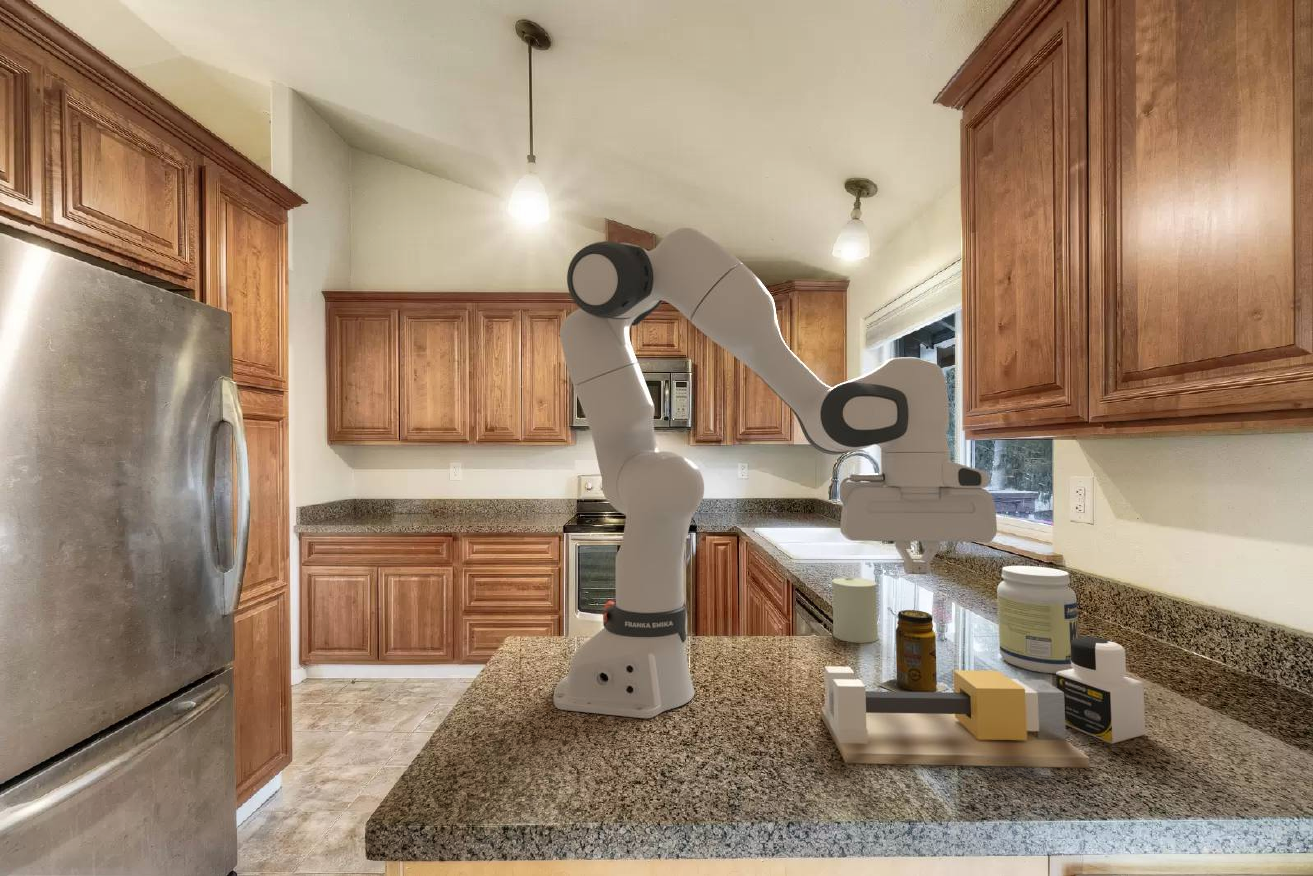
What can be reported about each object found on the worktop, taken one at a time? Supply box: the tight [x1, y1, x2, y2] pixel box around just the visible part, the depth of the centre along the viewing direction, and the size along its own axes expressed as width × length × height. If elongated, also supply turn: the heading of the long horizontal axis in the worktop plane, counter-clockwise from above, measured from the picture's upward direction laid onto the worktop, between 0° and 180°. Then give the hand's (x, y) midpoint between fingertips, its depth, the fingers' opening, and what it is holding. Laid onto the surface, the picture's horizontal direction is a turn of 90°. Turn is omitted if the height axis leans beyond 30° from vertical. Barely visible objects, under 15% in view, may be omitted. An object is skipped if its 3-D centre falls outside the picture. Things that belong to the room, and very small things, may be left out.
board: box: [820, 707, 1091, 769], centre depth 76 cm, size 29×13×1 cm, turn 87°
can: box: [831, 577, 880, 644], centre depth 122 cm, size 9×9×12 cm
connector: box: [1016, 678, 1067, 741], centre depth 76 cm, size 3×4×6 cm
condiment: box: [877, 609, 949, 692], centre depth 94 cm, size 7×8×12 cm
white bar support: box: [824, 665, 868, 744], centre depth 77 cm, size 4×8×7 cm, turn 177°
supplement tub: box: [996, 565, 1079, 674], centre depth 105 cm, size 12×12×17 cm
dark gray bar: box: [833, 690, 971, 714], centre depth 77 cm, size 26×2×2 cm, turn 87°
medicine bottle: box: [1055, 636, 1146, 745], centre depth 79 cm, size 7×7×12 cm
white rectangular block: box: [1010, 678, 1039, 731], centre depth 76 cm, size 2×5×5 cm, turn 177°
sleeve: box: [953, 669, 1027, 740], centre depth 76 cm, size 6×6×6 cm
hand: (917, 573), depth 79 cm, fingers closed
